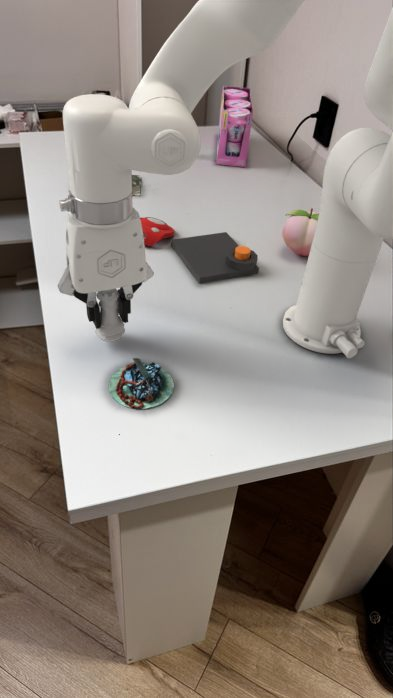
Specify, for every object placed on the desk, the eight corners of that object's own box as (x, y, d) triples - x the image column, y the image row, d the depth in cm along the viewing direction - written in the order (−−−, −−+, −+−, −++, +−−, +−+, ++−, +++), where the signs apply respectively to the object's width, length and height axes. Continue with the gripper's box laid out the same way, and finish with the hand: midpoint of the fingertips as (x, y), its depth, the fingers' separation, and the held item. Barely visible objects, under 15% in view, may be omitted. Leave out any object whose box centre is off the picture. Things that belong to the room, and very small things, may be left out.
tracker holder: (175, 220, 110) (177, 233, 101) (169, 240, 112) (170, 254, 103) (118, 203, 107) (114, 214, 98) (113, 224, 109) (109, 236, 100)
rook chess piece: (120, 345, 78) (117, 300, 73) (91, 339, 79) (86, 295, 73) (128, 326, 81) (127, 283, 76) (101, 321, 82) (97, 278, 77)
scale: (260, 274, 99) (263, 260, 97) (199, 285, 94) (201, 270, 92) (227, 237, 108) (228, 224, 106) (170, 245, 104) (171, 232, 102)
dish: (182, 388, 71) (138, 353, 69) (147, 428, 71) (102, 395, 69) (176, 372, 78) (136, 340, 76) (144, 408, 79) (104, 378, 77)
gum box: (246, 169, 136) (254, 114, 128) (215, 166, 136) (221, 111, 128) (244, 138, 155) (251, 87, 146) (217, 135, 155) (222, 85, 146)
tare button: (252, 259, 97) (253, 252, 96) (238, 261, 96) (239, 254, 95) (245, 252, 99) (246, 244, 98) (231, 254, 98) (232, 246, 97)
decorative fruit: (326, 249, 108) (338, 203, 101) (322, 269, 102) (335, 222, 95) (280, 240, 109) (290, 194, 103) (274, 259, 103) (284, 211, 97)
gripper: (41, 227, 61) (59, 348, 73) (174, 208, 67) (170, 323, 79) (29, 199, 66) (47, 316, 78) (154, 184, 72) (153, 295, 84)
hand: (109, 319), depth 78 cm, fingers closed on rook chess piece, 3 cm apart
